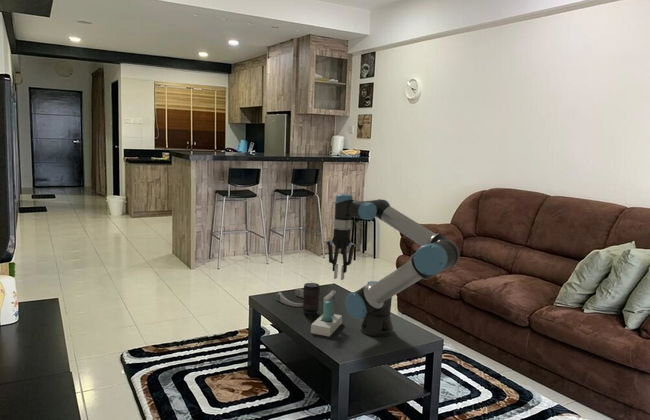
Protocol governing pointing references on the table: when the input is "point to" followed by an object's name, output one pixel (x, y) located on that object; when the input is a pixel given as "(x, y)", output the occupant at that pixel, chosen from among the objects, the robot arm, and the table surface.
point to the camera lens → (311, 298)
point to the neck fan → (284, 300)
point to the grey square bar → (329, 295)
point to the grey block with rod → (327, 323)
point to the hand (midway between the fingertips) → (338, 278)
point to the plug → (327, 311)
